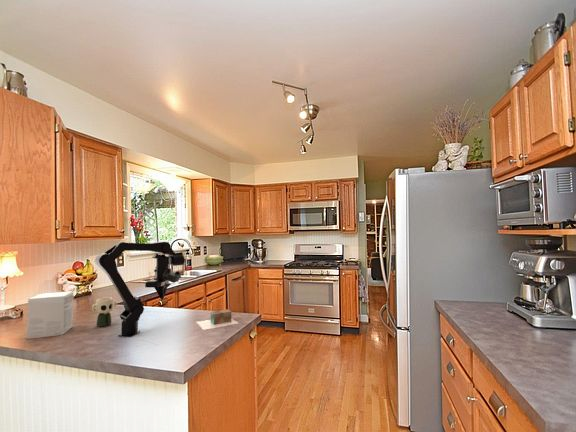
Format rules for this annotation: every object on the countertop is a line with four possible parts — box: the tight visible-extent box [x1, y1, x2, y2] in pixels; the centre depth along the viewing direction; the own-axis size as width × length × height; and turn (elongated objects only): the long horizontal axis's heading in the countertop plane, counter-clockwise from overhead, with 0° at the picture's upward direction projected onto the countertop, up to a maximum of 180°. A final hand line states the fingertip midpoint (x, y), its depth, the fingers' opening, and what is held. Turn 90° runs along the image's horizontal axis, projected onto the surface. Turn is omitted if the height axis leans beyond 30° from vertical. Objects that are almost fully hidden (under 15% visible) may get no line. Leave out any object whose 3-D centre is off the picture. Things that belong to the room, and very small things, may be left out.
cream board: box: [196, 317, 239, 331], centre depth 139 cm, size 17×14×1 cm
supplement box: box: [25, 290, 74, 340], centre depth 131 cm, size 13×13×18 cm
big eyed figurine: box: [91, 297, 117, 327], centre depth 140 cm, size 11×7×13 cm, turn 145°
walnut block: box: [210, 308, 232, 325], centre depth 140 cm, size 5×5×9 cm
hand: (162, 299), depth 138 cm, fingers closed
